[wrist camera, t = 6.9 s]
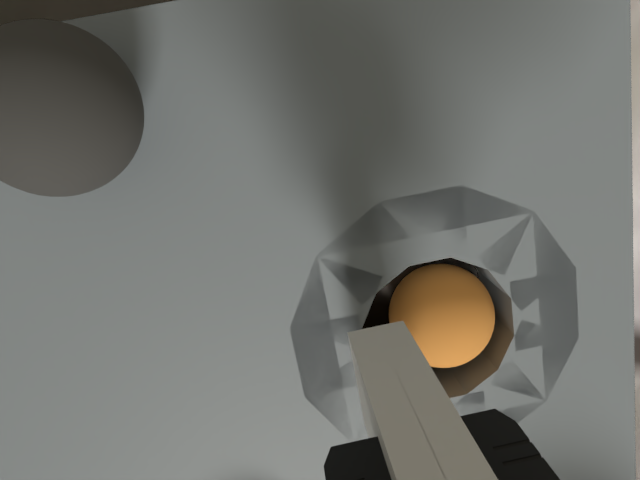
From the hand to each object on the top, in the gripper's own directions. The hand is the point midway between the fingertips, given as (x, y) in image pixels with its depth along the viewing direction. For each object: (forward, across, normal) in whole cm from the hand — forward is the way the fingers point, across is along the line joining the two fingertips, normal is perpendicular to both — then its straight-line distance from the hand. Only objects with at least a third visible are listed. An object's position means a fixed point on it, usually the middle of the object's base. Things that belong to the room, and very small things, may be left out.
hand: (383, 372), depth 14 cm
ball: (+2, +2, 0) cm, 3 cm away
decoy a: (0, -6, +8) cm, 10 cm away
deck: (+4, -3, 0) cm, 5 cm away
